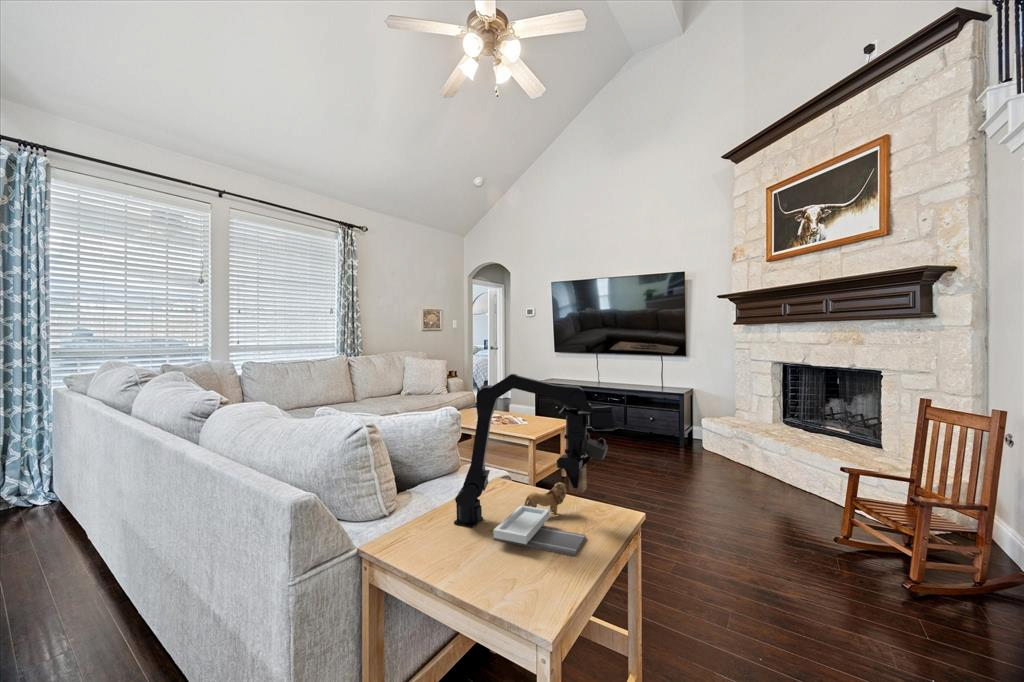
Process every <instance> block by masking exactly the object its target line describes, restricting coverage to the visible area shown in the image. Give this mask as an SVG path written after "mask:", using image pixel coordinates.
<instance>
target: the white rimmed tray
mask: <svg viewBox="0 0 1024 682" xmlns="http://www.w3.org/2000/svg"><path fill="white" fill-rule="evenodd" d="M550 514H551V512H550V509H546V508H541V507H536V508H535V507H531V506H530V507H529V506H524V505H522V504H521V505H519V506H518V507H517V508H516V509H514V511H512V512H511V513H510V514H509V515H508V516H507V517H506V518H505V519H504V520H503V521H501V522H500V524H498V525H497V526H496V527H495V528H494V529H493V539H494V538H498V539H503V540H508V541H513V542H517V543H522V544H527V543H529V542H530V541H531V539H532V537H533V536H534V535H535V533H536V532H537V531H538V530H539V529H540V528H541V527H544V526H545V523H546V522H547V521H548V520H549V519H550V517H551V516H550Z"/></svg>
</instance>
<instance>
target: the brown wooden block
mask: <svg viewBox="0 0 1024 682" xmlns="http://www.w3.org/2000/svg"><path fill="white" fill-rule="evenodd" d="M587 482H588V480H587V466H586V467H583V468H582V469H581V470H580V475H579V483H578V488H574V487H573V485H572V483H571V481H570V479H569V478H568V491H569V492H577V493H584V492H585V491H586V490H587V488H588V487H587V485H588V484H587Z"/></svg>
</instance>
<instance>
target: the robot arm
mask: <svg viewBox="0 0 1024 682" xmlns="http://www.w3.org/2000/svg"><path fill="white" fill-rule="evenodd" d="M511 390H519V391H521V392H522V391H523V392H527V393H531V394H536V395H539V396H544V397H547V398H550V399H553V400H556V401H557V402H559V403H562V404H564V406H563V408H561V410H560V411H559V412H558V413H559V416H565V432H566V434H564V435H563V437H564V439H565V440H566V448H565V449H564V453H563V454H562V455H561V456H560V457H558V459H557V460H556V468H557V469H562V470H564V471H565V473H566V475H567V477H568V480H569V479H570V481H571V483H572V485H573V487H574V488H578V483H579V475H580V470H581V469H582V468H583V467H586V468H587V464H588V462H589V461H591V460H592V459H593V458H595V459H596V460H598V461H604V458H605V457H606V454H607V452H608V449H609V446H608V444H607V442H606V441H607V440H606V439H605V438H603V437H600V438H599V439H598V440H596V439H591V438H590V437H591V436H590V433H589V432H588V431H587V424H588V427H589V428H591V429H592V431H594V432H595V431H598V432H599V431H614V429H615V419H614V415H613V408H612V406H611V405H604V406H592V404H591V402H589V401H588V400H587V395H586V393H585V391H584V389H583V388H582V387H581V386H579V385H572V384H554V383H550V382H546V381H541V380H538V379H533V378H530V377H525V376H523V375H522V376H521V375H518V374H516V373H510V374H509V375H507V376H506V378H503V379H502V380H500V381H498V382H496V383H495V384H493V385H490V384H489V385H485V386H483V387H482V388H480V389H479V390H478V392H477V393H476V396H475V399H476V401H475V404H476V414H477V419H476V420H477V421H476V426H475V432H474V433H475V436H474V441H473V448H472V453H471V461H470V465H469V468H468V471H467V474H466V475H465V479H464V482H463V485H462V487H461V489H460V490H459V491H458V493H457V495H456V496H455V498H454V501H455V505H456V506H455V507H456V519H455V520H454V521H453V525H459V526H464V527H469V528H474V527H475V526H476V525H478V524H479V523H480V522H481V521H482V520H483V519H484V516H483V515H482V514H483V512H482V510H483V509H482V508H483V507H482V505H481V499H479V498H480V497H481V496H482V494H483V492H485V491H486V488H487V487H488V485H489V475H490V471H491V470H490V469H486V464H485V463H486V457H487V450H488V444H489V443H488V442H489V436H490V430H491V424H492V418H493V415H494V412H495V409H496V407H497V404H498V401H499V398H500V397H502V396H503V395H505V394H507V393H508V392H510V391H511ZM567 406H568V407H567ZM569 407H570V408H569ZM579 409H581V410H582V411H581V410H580V411H579ZM587 419H588V421H587ZM587 422H588V423H587ZM588 455H589V456H588Z"/></svg>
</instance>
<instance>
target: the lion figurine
mask: <svg viewBox="0 0 1024 682" xmlns="http://www.w3.org/2000/svg"><path fill="white" fill-rule="evenodd" d="M566 486H567V485H566V484H565V483H564V482H557V483H555V484H554V486H553V487H552V488H551V489H550V490H549V491H548V492H546V493H538V492H532V493H529V494H528V495H527V497H526V498H525V501H524V505H523V506H529V507H535V508H538V507H537V506H538V505H539V506H541V507H549V510H550V513H551V512H553V513H552V514H553V515H554V516H555V515H558V514H559V513H557V512H558V505H561V504H562V503H563V502H564V500H565V498H566V496H567V488H566Z"/></svg>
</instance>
